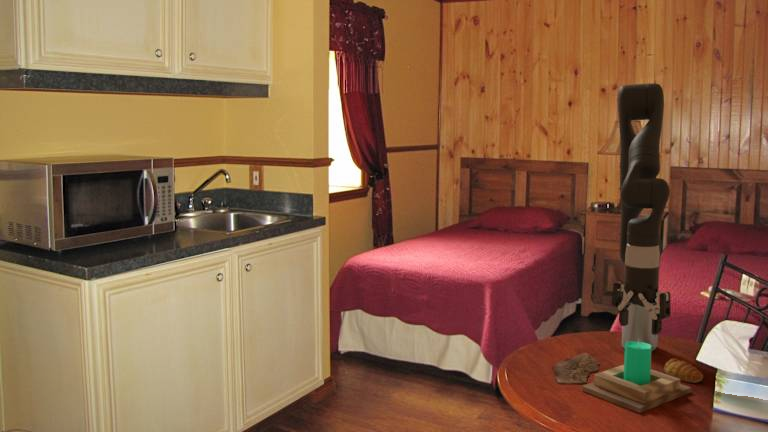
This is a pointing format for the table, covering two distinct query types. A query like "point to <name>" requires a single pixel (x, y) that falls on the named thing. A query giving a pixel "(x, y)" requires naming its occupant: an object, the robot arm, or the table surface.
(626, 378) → the candle
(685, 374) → the pastry
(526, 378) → the table surface
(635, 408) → the board
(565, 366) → the wooden fragment
